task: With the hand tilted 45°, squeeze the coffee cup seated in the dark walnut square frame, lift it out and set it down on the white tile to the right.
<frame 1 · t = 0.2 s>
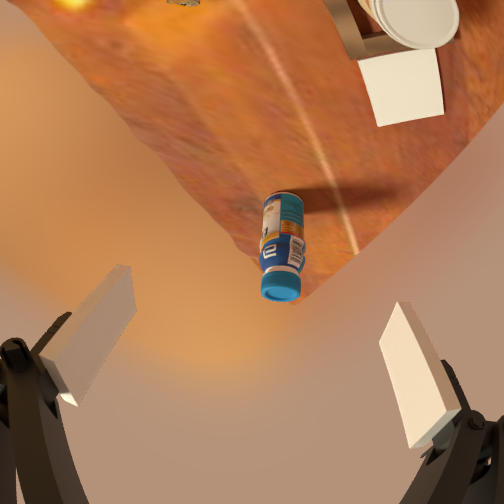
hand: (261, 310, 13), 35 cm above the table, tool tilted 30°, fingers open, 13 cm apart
beverage bottle: (283, 203, 59), on the table
white tile: (404, 86, 32), on the table
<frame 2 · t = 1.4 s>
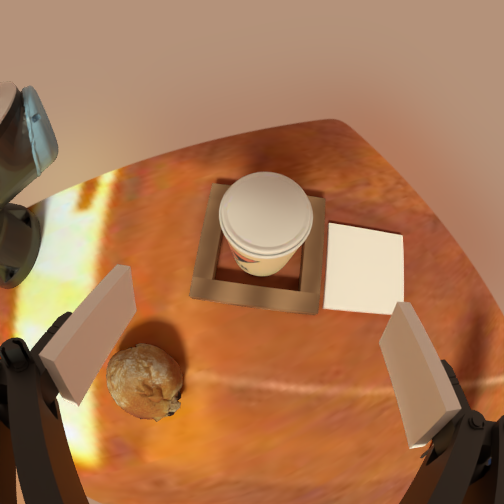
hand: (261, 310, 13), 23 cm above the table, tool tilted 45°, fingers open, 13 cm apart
square frame: (261, 248, 39), on the table
bread roll: (150, 381, 34), on the table
coffee cup: (261, 249, 39), resting in square frame
white tile: (366, 270, 38), on the table
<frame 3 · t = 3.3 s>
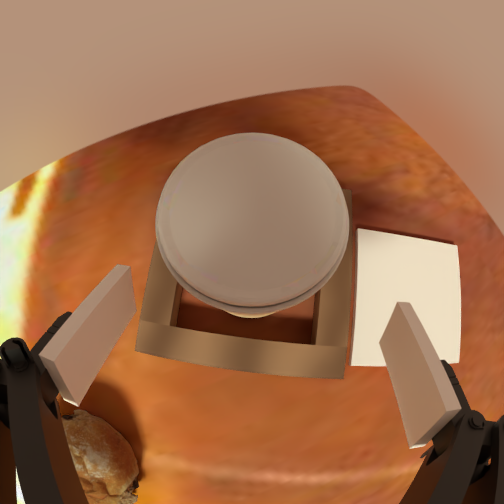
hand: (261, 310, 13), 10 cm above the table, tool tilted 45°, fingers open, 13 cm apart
square frame: (251, 272, 24), on the table
bread roll: (98, 458, 19), on the table
coffee cup: (251, 272, 24), resting in square frame
white tile: (412, 300, 23), on the table
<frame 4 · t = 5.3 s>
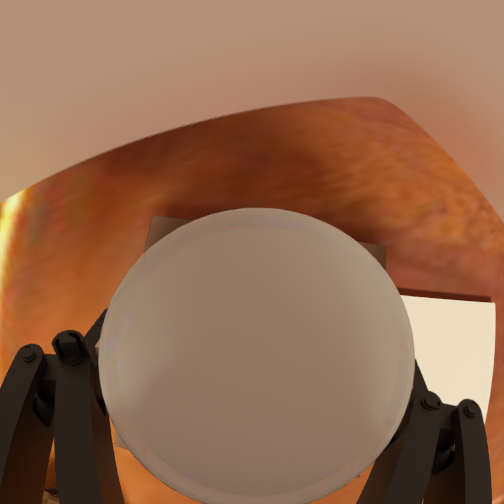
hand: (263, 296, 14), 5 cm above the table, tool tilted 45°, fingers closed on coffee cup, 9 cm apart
square frame: (253, 355, 18), on the table
coffee cup: (253, 355, 18), resting in square frame, touching gripper
white tile: (442, 375, 17), on the table
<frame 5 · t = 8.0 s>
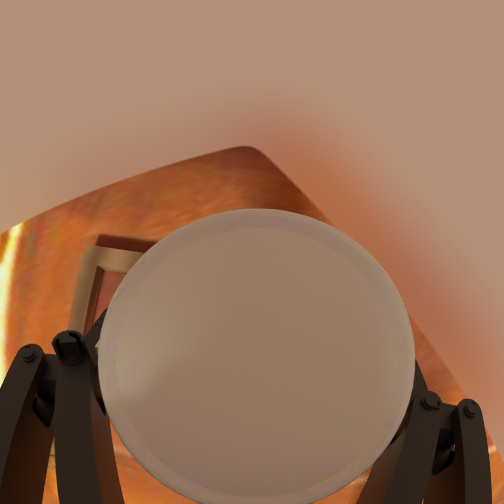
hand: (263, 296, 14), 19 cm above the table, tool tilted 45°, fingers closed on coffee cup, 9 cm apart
square frame: (131, 319, 32), on the table
coffee cup: (253, 355, 18), point 14 cm above the table, touching gripper
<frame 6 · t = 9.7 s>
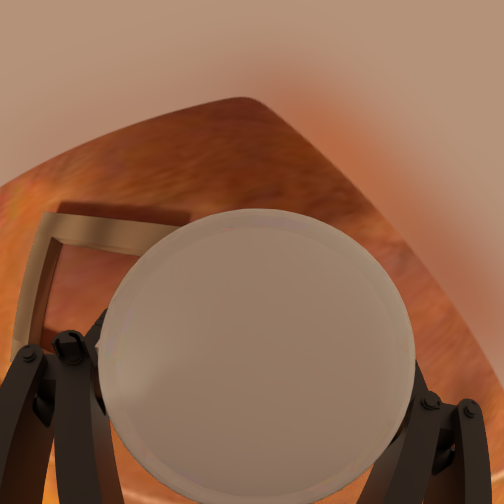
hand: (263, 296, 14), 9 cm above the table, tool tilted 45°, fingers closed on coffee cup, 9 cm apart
square frame: (89, 306, 23), on the table
coffee cup: (253, 356, 18), point 4 cm above the table, touching gripper
when the fingers open (7 cm above the table, at t = 10.7 s): coffee cup drops 1 cm, resting on white tile.
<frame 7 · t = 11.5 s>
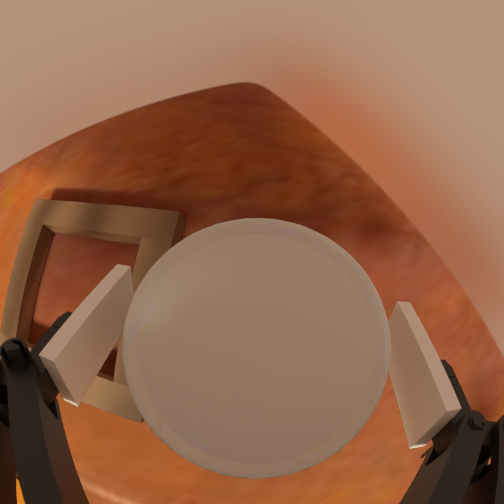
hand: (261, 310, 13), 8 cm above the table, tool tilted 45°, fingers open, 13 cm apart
square frame: (80, 298, 21), on the table
coffee cup: (253, 349, 20), resting on white tile
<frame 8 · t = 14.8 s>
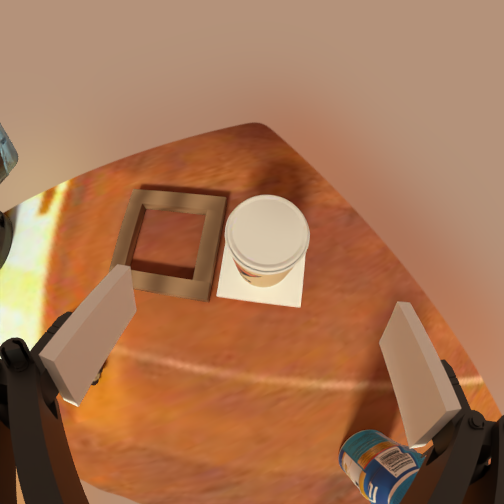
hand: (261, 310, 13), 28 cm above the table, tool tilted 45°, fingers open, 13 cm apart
beverage bottle: (361, 451, 34), on the table
square frame: (168, 243, 44), on the table
coffee cup: (263, 262, 43), resting on white tile
white tile: (263, 262, 43), on the table
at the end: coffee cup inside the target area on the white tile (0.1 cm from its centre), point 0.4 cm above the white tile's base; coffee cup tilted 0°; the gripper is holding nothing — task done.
